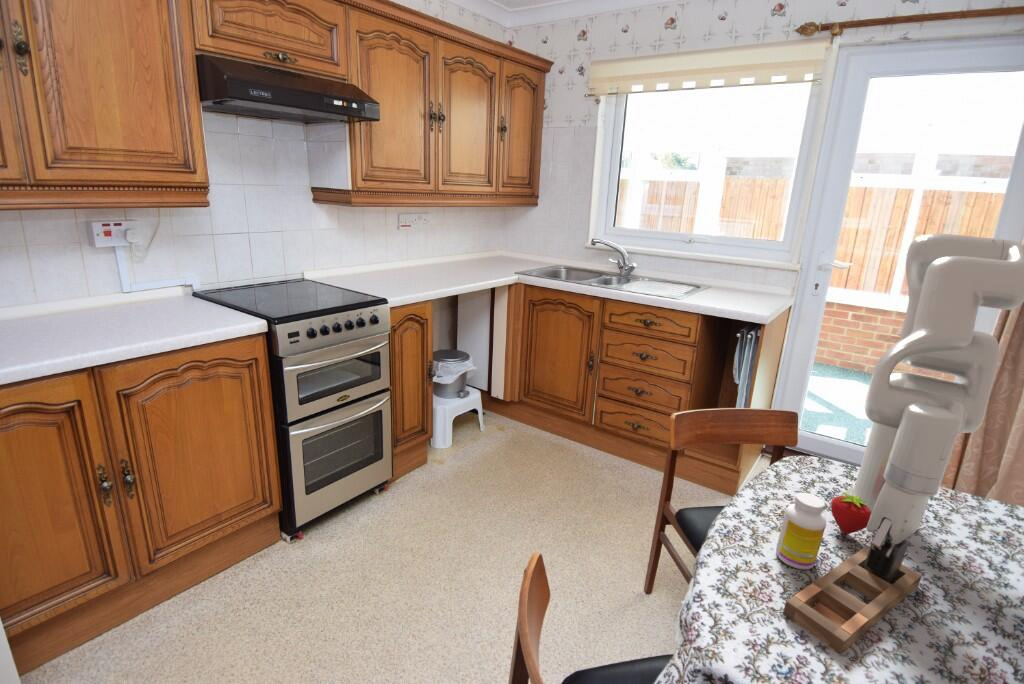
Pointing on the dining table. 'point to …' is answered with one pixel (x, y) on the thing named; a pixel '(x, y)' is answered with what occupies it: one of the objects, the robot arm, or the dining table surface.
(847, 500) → the strawberry
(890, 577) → the peg
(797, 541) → the supplement bottle
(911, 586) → the rack
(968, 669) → the dining table surface
